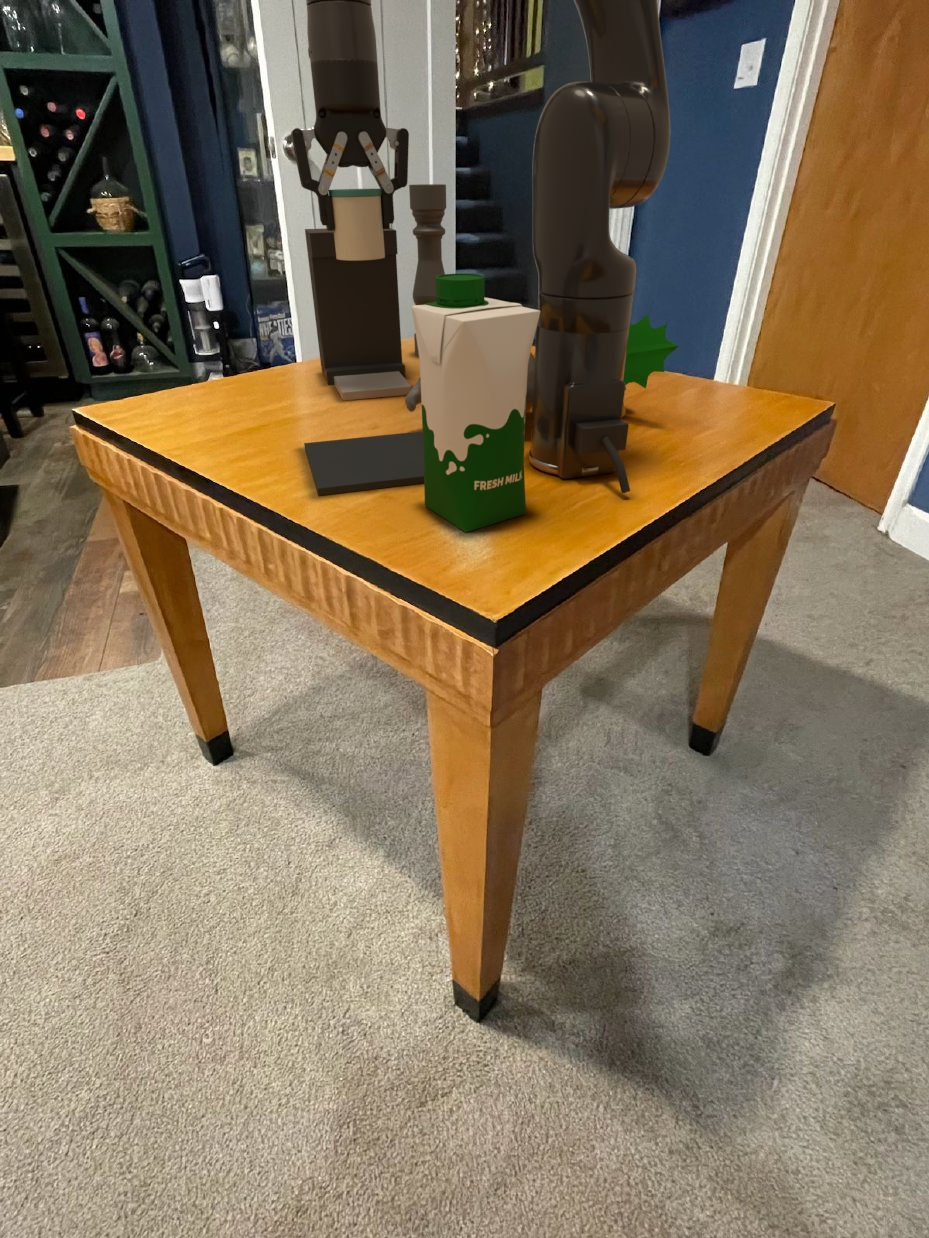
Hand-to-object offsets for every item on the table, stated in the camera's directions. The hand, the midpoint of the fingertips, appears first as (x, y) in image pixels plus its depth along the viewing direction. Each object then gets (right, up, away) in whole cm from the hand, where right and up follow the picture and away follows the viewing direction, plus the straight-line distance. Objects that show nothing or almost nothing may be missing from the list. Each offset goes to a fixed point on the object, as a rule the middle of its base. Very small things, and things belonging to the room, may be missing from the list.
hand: (358, 229), depth 86 cm
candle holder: (+8, -3, +33) cm, 34 cm away
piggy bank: (+17, -24, +2) cm, 30 cm away
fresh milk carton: (+14, -39, -21) cm, 46 cm away
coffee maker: (-1, -13, +18) cm, 22 cm away
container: (0, -3, +2) cm, 3 cm away
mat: (+3, -32, -10) cm, 34 cm away
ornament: (+31, -22, +5) cm, 38 cm away
